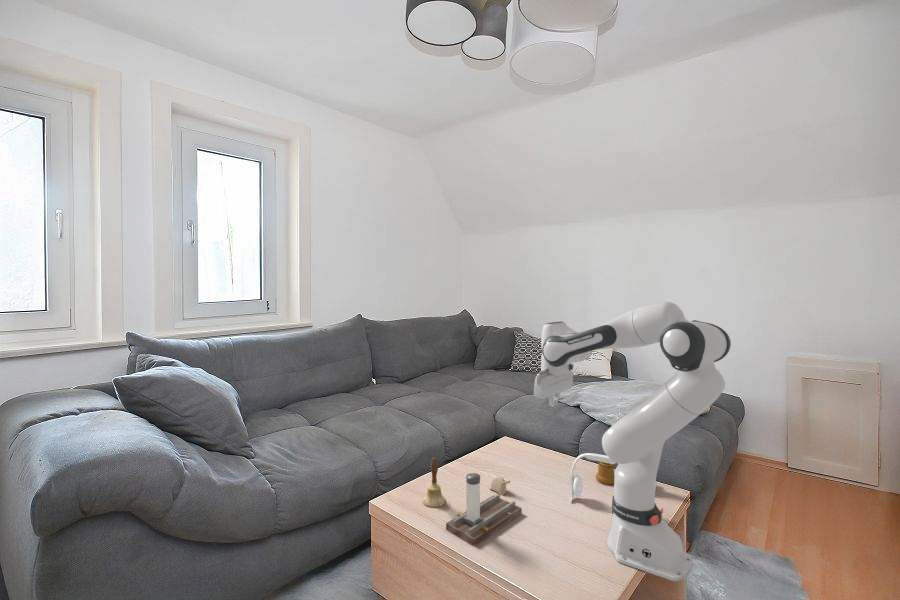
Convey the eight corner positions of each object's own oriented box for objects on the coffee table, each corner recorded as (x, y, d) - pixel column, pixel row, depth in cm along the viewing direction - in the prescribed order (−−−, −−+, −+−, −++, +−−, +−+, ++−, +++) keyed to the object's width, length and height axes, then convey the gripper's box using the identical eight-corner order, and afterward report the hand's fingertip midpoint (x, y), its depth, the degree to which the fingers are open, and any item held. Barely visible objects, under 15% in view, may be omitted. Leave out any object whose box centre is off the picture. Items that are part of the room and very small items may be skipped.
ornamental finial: (599, 474, 175) (618, 480, 170) (593, 481, 169) (612, 487, 165) (599, 455, 174) (619, 460, 170) (593, 461, 168) (613, 467, 164)
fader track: (521, 513, 147) (521, 503, 147) (474, 545, 130) (474, 534, 130) (493, 500, 155) (493, 491, 155) (446, 529, 138) (446, 518, 138)
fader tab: (483, 521, 138) (483, 476, 137) (474, 527, 135) (474, 481, 134) (472, 515, 141) (472, 471, 140) (462, 521, 138) (462, 476, 137)
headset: (630, 506, 151) (632, 456, 150) (629, 516, 145) (630, 464, 144) (572, 493, 160) (572, 446, 159) (568, 502, 154) (569, 453, 153)
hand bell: (450, 500, 156) (450, 456, 155) (435, 510, 149) (434, 464, 148) (433, 492, 161) (433, 450, 160) (417, 502, 154) (417, 458, 153)
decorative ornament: (495, 485, 167) (495, 471, 166) (512, 493, 160) (512, 479, 160) (488, 488, 164) (488, 474, 164) (504, 497, 158) (504, 483, 157)
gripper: (545, 373, 144) (545, 414, 145) (576, 364, 159) (575, 401, 160) (529, 370, 149) (529, 410, 149) (560, 361, 163) (560, 398, 164)
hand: (553, 405), depth 155 cm, fingers closed
